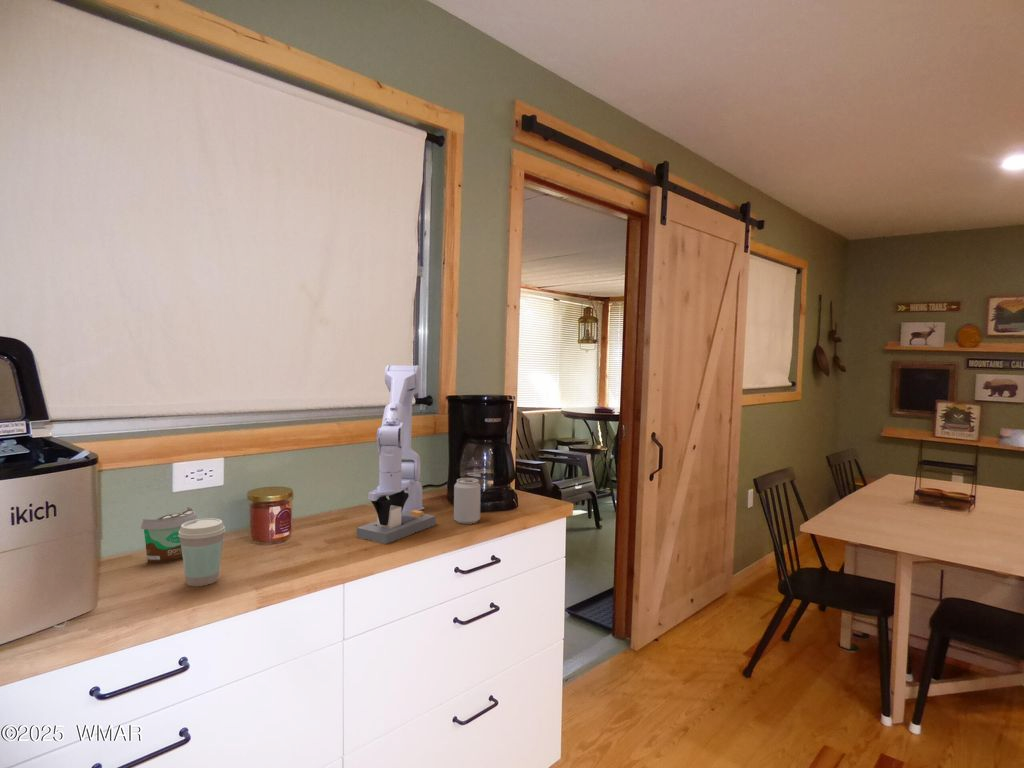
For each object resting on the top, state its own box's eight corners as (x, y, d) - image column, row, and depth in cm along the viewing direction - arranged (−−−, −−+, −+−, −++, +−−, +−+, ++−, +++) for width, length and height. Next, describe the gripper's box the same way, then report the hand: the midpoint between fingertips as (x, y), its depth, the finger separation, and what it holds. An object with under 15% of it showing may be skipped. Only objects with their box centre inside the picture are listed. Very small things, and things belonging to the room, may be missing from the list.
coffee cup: (205, 570, 125) (205, 515, 125) (235, 577, 122) (234, 520, 121) (168, 585, 117) (167, 526, 117) (199, 592, 114) (198, 531, 113)
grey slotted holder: (407, 519, 167) (407, 507, 167) (435, 524, 162) (435, 512, 162) (356, 537, 150) (356, 523, 150) (385, 544, 145) (385, 530, 145)
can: (482, 518, 169) (483, 477, 169) (476, 525, 162) (477, 482, 161) (457, 516, 171) (458, 476, 170) (450, 523, 163) (451, 481, 163)
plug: (388, 526, 156) (388, 504, 156) (401, 529, 154) (401, 506, 154) (376, 530, 152) (377, 508, 152) (390, 533, 150) (390, 510, 150)
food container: (161, 568, 126) (161, 522, 126) (141, 564, 128) (140, 519, 128) (209, 551, 138) (208, 509, 137) (189, 547, 140) (189, 506, 139)
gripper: (396, 465, 161) (395, 513, 161) (359, 474, 148) (359, 526, 149) (416, 467, 157) (416, 517, 158) (380, 477, 145) (380, 531, 145)
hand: (390, 522), depth 153 cm, fingers closed on plug, 4 cm apart
